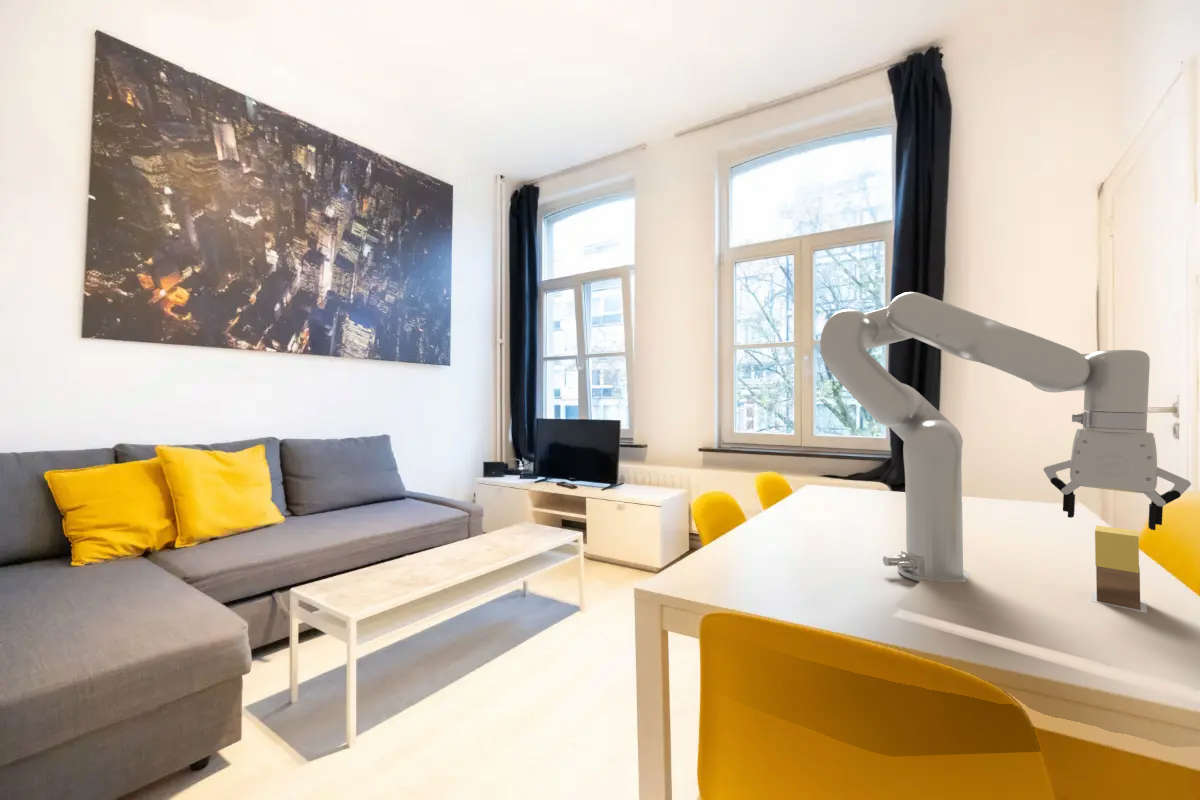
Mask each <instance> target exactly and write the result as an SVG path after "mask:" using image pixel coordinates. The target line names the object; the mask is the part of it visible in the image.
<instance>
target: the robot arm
mask: <svg viewBox="0 0 1200 800" xmlns="http://www.w3.org/2000/svg"><path fill="white" fill-rule="evenodd" d="M908 339H915V340H918V341H920V342H922V343H925V344H926V345H929V346H932V347H934V348H935V349H939V350H940V351H942V352H946V353H947V354H951V355H953V356H955V357H958V358H960V359H962V360H966V361H971V362H975V363H980V364H984V365H986V366H989V367H992V368H994V369H996V370H999V371H1002V372H1005V373H1007V374H1008V375H1009V374H1010V375H1012V376H1014V377H1016V378H1019V379H1021V380H1023V381H1026V382H1028V383H1030V384H1031V386H1033V387H1035V388H1036V389H1038V390H1039V391H1043V392H1046V393H1063V392H1065V393H1066V392H1075V391H1084V394H1083V395H1084V398H1083V411H1082V412H1081V413H1078V414H1072V415H1071V422H1072V423H1077V424H1078V423H1079V424H1080V425H1082V428H1076V431H1075V434H1074V438H1073V442H1072V448H1071V454H1070V455H1071V456H1070V459H1068V460H1065V461H1062V462H1059V463H1058V462H1057V463H1054V464H1051V465H1047V466H1044V468H1043V471H1044V473H1045V475H1046V477H1047V479H1049V481H1050V484H1052V485H1053V486H1054V487H1055V488H1056V489H1058V490H1059V491H1060V492H1061V493H1062V495H1063V497H1062V498H1063V499H1062V512H1067V518H1069V519H1070V518H1071V519H1072V518H1074V516H1075V511H1076V510H1075V506H1076V494H1075V493H1074V491H1075V490H1077V489H1078V488H1080V487H1084V488H1091V489H1100V490H1107V491H1119V492H1126V493H1136V494H1143V495H1145V496H1146V497H1147V498H1149V500H1150V501H1151V502H1150V503H1149V504H1148V526H1147V527H1148V530H1149V529H1150V530H1151V531H1156V526H1163V511H1164V507H1165V506H1166V505H1168V504H1169V503H1171V502H1173V501H1175V500H1177V499H1179V498H1180V497H1181V496H1182V495H1183V494H1184V493H1185V492H1186V491H1187V490H1188V489H1189V488H1190V486H1191V485H1192V483H1191V482H1190V480H1188V479H1186V478H1184V477H1181V476H1180V475H1177V474H1175V473H1172V472H1170V471H1168V470H1165V469H1163V468H1161V467H1158V452H1157V444H1156V438H1155V435H1154V433H1153V432H1149V431H1148V409H1149V408H1148V406H1149V405H1148V403H1149V390H1150V389H1149V385H1150V366H1151V364H1150V362H1151V359H1150V356H1149V354H1148V353H1147V352H1145V351H1143V350H1138V349H1113V350H1112V349H1110V350H1108V349H1107V350H1099V351H1098V350H1097V351H1095V352H1091V353H1081V352H1079V351H1077V350H1076V349H1073V348H1072V347H1071V348H1070V347H1068V346H1066V345H1062V344H1060V343H1057V342H1054V341H1052V340H1049V339H1047V338H1044V337H1042V336H1039V335H1036V334H1033V333H1030V332H1029V331H1028V332H1027V331H1026V330H1022V329H1019V328H1016V327H1013V326H1011V325H1010V326H1009V325H1008V324H1004V323H1003V322H1002V323H1001V322H999V321H997V320H994V319H991V318H988V317H985V316H982V315H979V314H977V313H974V312H971V311H969V310H966V309H964V308H961V307H959V306H955V305H952V304H950V303H948V302H945V301H943V300H939V299H937V298H935V297H932V296H929V295H927V294H924V293H922V292H921V293H920V292H917V291H916V292H914V291H908V292H903V293H901V294H899V295H897V296H895V297H894V298H893V299H892V301H891V302H890V303H889V304H888V306H887V307H883V308H882V307H881V308H879V309H877V310H871V311H869V312H865V313H863V312H862V311H860V310H857V309H851V308H848V309H847V308H846V309H841V310H839V311H836V312H835V313H833V314H832V315H831V316H830V317H829V318H828V319H827V321H826V323H824V326H823V328H822V332H821V335H820V342H819V343H820V344H819V346H820V353H821V356H822V360H823V362H824V364H825V366H826V367H827V369H828V370H829V372H830V373H831V374H832V375H833V376H834V377H835V379H836V380H837V381H838V382H839V383H840V384H841V385H842V386H843V387H844V388H845V389H846V390H847V391H848V393H849V394H850V395H851V396H852V397H853V398H854V399H855V400H856V401H857V402H858V403H859V404H860V405H861V406H862V407H863V408H864V409H865V410H866V412H867V413H869V415H870V416H871V417H872V418H873V420H875V421H876V422H877V423H879V424H881V425H883V426H887V427H888V428H889V429H891V431H892V432H894V434H896V435H897V436H898V437H899V438H900V439H901V440H902V442H903V446H902V447H903V449H902V450H903V451H902V453H903V454H902V455H903V466H904V485H905V486H904V489H905V492H904V493H905V495H904V496H905V538H906V539H905V541H906V545H905V546H906V549H902V550H901V551H900V552H901V553H900V554H898V555H897V556H893V555H888V556H887V555H884V556H883V558H882V562H883V565H884V566H886V567H896V566H897V571H898V573H899V574H900V575H902V576H903V577H905V578H907V579H910V580H912V581H915V582H919V583H920V582H921V581H922V580H923V579H925V580H930V581H936V582H942V583H964V582H966V581H967V579H969V578H970V576H971V575H972V574H971V573H970V572H969V571H967V570H965V569H964V542H963V541H964V540H963V539H964V537H963V533H964V532H963V491H962V490H963V488H962V487H963V484H962V483H963V479H962V475H963V474H962V455H963V453H962V452H963V438H962V435H961V434H962V433H961V432H960V431H959V429H958V428H957V427H956V426H955V425H954V424H953V423H952V422H951V421H950V420H949V419H948V418H947V417H945V415H943V414H942V413H941V412H940V410H938V409H937V408H936V407H935V406H933V405H932V404H931V402H930V401H928V400H927V399H926V398H925V397H924V396H923V395H922V394H920V392H919V391H918V390H916V389H915V388H914V387H912V386H910V385H908V384H906V383H903V382H900V381H899V379H897V378H896V377H895V376H893V375H892V374H891V373H890V372H889V371H888V370H887V369H885V367H883V365H882V364H881V363H880V362H879V361H877V359H875V358H874V357H873V356H872V355H871V354H870V353H869V352H868V351H867V350H870V349H874V348H878V347H882V346H886V345H890V344H893V343H898V342H902V341H905V340H908ZM1068 469H1069V478H1070V482H1068V483H1065V482H1064V481H1063V480H1062V479H1060V477H1059V476H1058V474H1057V472H1059V471H1060V472H1061V471H1064V470H1068ZM1158 477H1159V478H1160V479H1164V480H1166V481H1168V482H1170V483H1173V486H1172V488H1171V489H1170V490H1169V491H1166V492H1164V493H1162V494H1160V493H1159V492H1157V490H1156V489H1157V486H1158Z"/></svg>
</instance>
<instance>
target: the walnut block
mask: <svg viewBox="0 0 1200 800" xmlns="http://www.w3.org/2000/svg"><path fill="white" fill-rule="evenodd" d="M1095 569H1096V572H1095V575H1096V592H1097V601H1099V602H1104V603H1109V604H1114V605H1118V606H1123V607H1128V608H1133V609H1138V610H1140V600H1141V571H1140V570H1141V569H1140V568H1139V573H1135V572H1129V571H1123V570H1117V569H1111V568H1105V567H1099V566H1096V565H1095Z"/></svg>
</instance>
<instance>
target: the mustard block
mask: <svg viewBox="0 0 1200 800" xmlns="http://www.w3.org/2000/svg"><path fill="white" fill-rule="evenodd" d="M1094 533H1095V534H1094V546H1095V547H1094V550H1095V551H1094V553H1095V554H1094V555H1095V559H1094V560H1095V567H1096V566H1099V567H1105V568H1111V569H1117V570H1123V571H1129V572H1135V573H1139V569H1140V554H1139V552H1140V550H1139V549H1140V548H1139V547H1140V546H1139V545H1140V543H1139V542H1140V540H1139V530H1136V529H1135V530H1134V529H1128V528H1117V527H1111V526H1103V525H1096V526H1095V531H1094Z"/></svg>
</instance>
